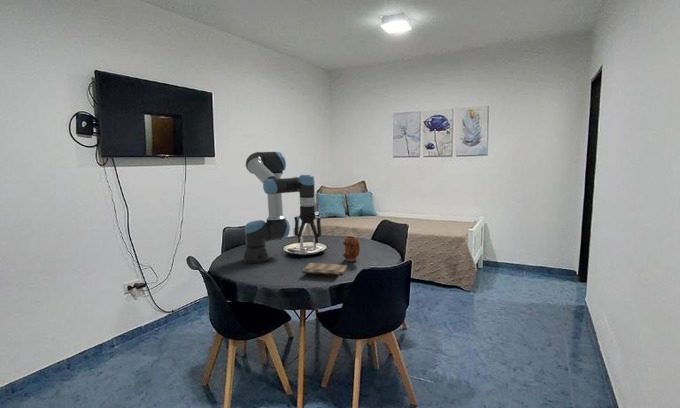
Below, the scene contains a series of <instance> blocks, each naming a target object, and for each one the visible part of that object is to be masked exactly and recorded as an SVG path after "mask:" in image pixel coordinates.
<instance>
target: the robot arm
mask: <svg viewBox="0 0 680 408" xmlns="http://www.w3.org/2000/svg"><path fill="white" fill-rule="evenodd" d="M286 161H287V160H286V158H285V156H284V155H283V153H282V152H281V151H256V152H253V153H251V154H249V156H247V158H246V161H245V168H246V170H247V171H248V172H249V173H250V174H252V175H254V176H255V177H257V179H258V180H259V181H260V183H262V187H263V191H264V193H265V194H267V209H268V217H267V218H266V222H265V220H262V219H259V220H253V221H250V222H247V223H246V224H245V225H244V233H245V234H244V235H245V237H244V238H245V249H244V253H243V256H242V257H243V262H244V263H245V264H246V263H247V264H261V263H265V262H268V261H269V260H270V255H269V252H268V248H267V246H266V242H273V241H278V240H279V241H281V240H284V239H287V238H288V237H289V234H290V230H291V225H290V222H289V221H288V220H287V219H286V217H285V216H284V213H283V210H284V209H283V198H282V197H283V196H282V194H287V193H288V194H290V193H299V205H300V206H299V215H296V216H295V217H294V233H293V234H294V235H293V236H295V237H298V238H297V242H298V243H299V247H300V248H299V249H300V250H303V249H304V236H303V235H302V234H303V231H304V230H305V229H304V228H305V226H306V224H308V225H310V228H311V230H312V233H313V236H314V237H313V238H312V240H313V241H312V242H313V243H312V244H313V251H316V250H317V244H318V243H319V238H320V237H321V236H322V235H323V234H322V226H321V220H322V217H321V216H317V215H316V207H315V204H316V201H315V200H316V199H315V198H316V197H315V176H314V175H313V174H301V175H299V177H298V176H294V177H286V178H282V175H283V174H284V172H283V171H285V170H286V167H287V163H286ZM300 220H301V225H300ZM315 221H316V225H315ZM299 225H300V228H299Z"/></svg>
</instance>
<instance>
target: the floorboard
mask: <svg viewBox="0 0 680 408" xmlns="http://www.w3.org/2000/svg"><path fill="white" fill-rule="evenodd" d="M304 268H306V269H323V270H337V271H339V274H343V275H344V274H345V272H346V270H347V269H348V264H336V263H318V262H317V263H316V262H309V263H308V264H307V265H305V267H304ZM304 273H306V272H304ZM306 274H307V273H306Z"/></svg>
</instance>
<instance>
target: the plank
mask: <svg viewBox="0 0 680 408" xmlns="http://www.w3.org/2000/svg"><path fill="white" fill-rule="evenodd" d="M302 272H303V273H305V272H306V274H323V275H336V276H337V275H339V271H337V270H323V269H306V268H305V267H304V268H302Z"/></svg>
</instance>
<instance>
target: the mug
mask: <svg viewBox="0 0 680 408" xmlns="http://www.w3.org/2000/svg"><path fill="white" fill-rule="evenodd" d="M342 243H343V245H344V253H343V254H342V256H343V257H344V260H345V261H346V262H355V261H356V260H357V258H358V256H359V254H360V242H359V240H358V238H356V237H355V236H352V235H349V236H345V237H344V242H342Z"/></svg>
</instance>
